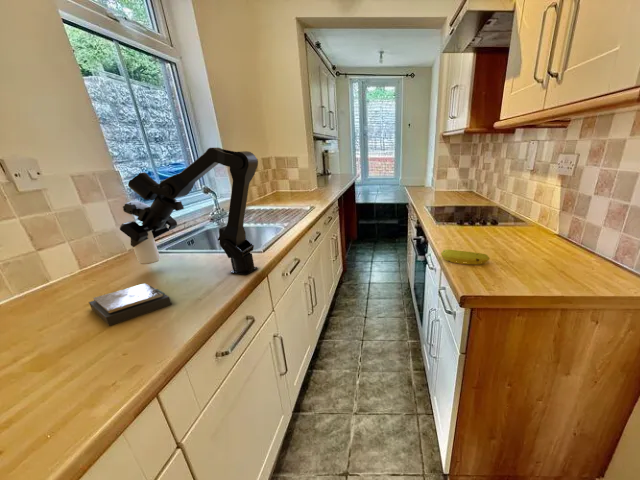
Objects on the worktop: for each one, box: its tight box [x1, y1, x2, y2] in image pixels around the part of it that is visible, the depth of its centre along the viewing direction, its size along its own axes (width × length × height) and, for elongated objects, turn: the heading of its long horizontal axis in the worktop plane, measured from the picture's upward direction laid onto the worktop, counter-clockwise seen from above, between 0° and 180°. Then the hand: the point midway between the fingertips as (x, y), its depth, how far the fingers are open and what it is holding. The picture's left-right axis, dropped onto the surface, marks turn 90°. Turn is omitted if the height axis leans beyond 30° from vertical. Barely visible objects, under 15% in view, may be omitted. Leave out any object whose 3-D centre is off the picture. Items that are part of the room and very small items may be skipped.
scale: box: [88, 284, 172, 327], centre depth 86 cm, size 14×14×2 cm
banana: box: [440, 248, 490, 265], centre depth 120 cm, size 5×17×15 cm
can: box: [128, 231, 161, 265], centre depth 109 cm, size 6×6×12 cm
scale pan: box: [92, 283, 163, 313], centre depth 85 cm, size 12×12×1 cm
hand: (140, 243), depth 108 cm, fingers closed on can, 6 cm apart
